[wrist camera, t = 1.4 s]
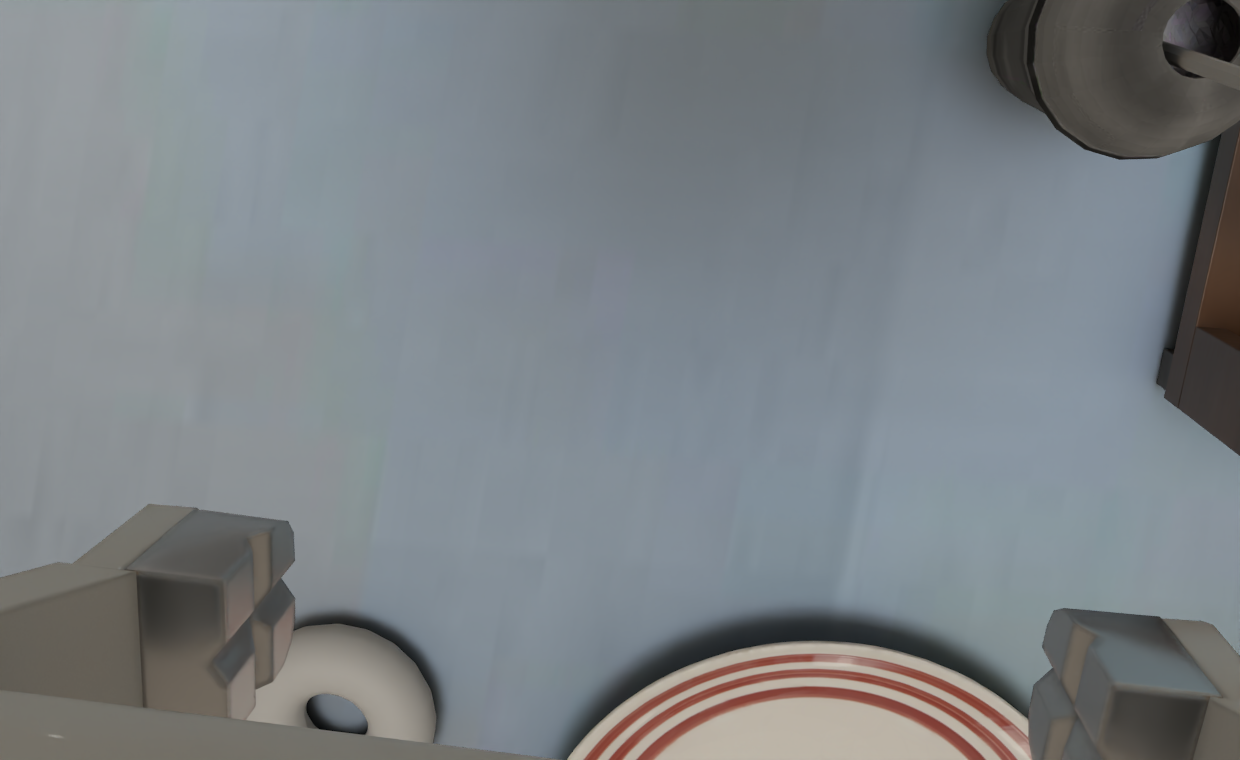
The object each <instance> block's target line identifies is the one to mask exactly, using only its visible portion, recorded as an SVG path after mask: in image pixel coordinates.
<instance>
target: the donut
mask: <svg viewBox="0 0 1240 760" xmlns="http://www.w3.org/2000/svg"><path fill="white" fill-rule="evenodd" d="M255 691H256V707H255V708H254V709H253V711H252V712H251V714H250V715H249V716H248V718H247V719H246V720H248V721H256V722H264V723H272V724H280V725H288V726H296V727H304V728H312V729H318V728H317V727H316V726H315V725H314V724H313V723H312V721H311V720H310V718H309V716H308V715H307V711H306V706H307V702H308V700H309V699H310V698H311V697H313V696H315V695H318V694H332V695H337V696H341V697H343V698H345V699H347V700H349V701H351V702H352V703H354V704H355V705H356V706H357V707H358V708H359V709H360V710H361V711H362V713H363V714H364V716H365V718H366V719H367V723H368V731H367V733H366V734H365V735H368V736H376V737H384V738H392V739H400V740H408V741H416V742H424V743H432V744H433V741H434V734H435V728H436V721H437V717H436V712H435V707H434V702H433V697H432V693H431V690H430V688H429V686H428V684H427V683H426V681H425V679H424V677H423V676H422V674H421V672H420V670H419V669H418V667H417V665H416V664H415V662H414V661H412V660H411V659H410V658H409V657H408V656H407V655H406V654H405V653H404V652H403V651H402V650H401V649H400V648H399V647H397V646H396V645H395V644H394V643H393V642H391V641H389V640H387V639H385V638H383V637H381V636H379V635H377V634H375V633H373V632H371V631H369V630H367V629H363V628H358V627H353V626H348V625H343V624H327V625H315V626H305V627H302V628H300V629H298V630H295V631H293V638H292V643H291V646H290V649H289V652H288V654H287V657H286V660H285V663H284V666H283V668H282V669H281V671H280V672H279V674H278V675H277V677H276V678H275V680H274V681H273V682H272V683H270V684H267V685H265V686H263V687H261V688H258V689H256V690H255Z"/></svg>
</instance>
